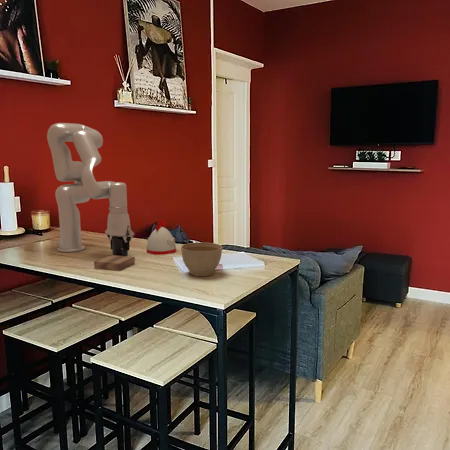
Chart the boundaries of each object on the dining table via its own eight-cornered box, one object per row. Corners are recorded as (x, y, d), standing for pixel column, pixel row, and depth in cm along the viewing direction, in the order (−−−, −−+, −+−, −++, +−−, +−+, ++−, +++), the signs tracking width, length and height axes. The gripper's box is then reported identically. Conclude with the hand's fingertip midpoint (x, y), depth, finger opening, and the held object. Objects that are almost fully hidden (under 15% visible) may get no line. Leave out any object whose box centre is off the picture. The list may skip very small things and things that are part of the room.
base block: (94, 268, 189) (94, 261, 189) (110, 261, 201) (109, 255, 200) (120, 270, 186) (120, 263, 185) (134, 263, 197) (134, 256, 197)
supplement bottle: (124, 259, 204) (123, 233, 202) (110, 259, 206) (108, 232, 204) (130, 256, 211) (129, 230, 209) (116, 255, 212) (115, 229, 210)
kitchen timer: (181, 250, 224) (181, 219, 221) (165, 256, 212) (164, 223, 209) (157, 247, 230) (157, 217, 228) (140, 252, 218) (139, 221, 215)
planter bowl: (189, 281, 172) (188, 252, 170) (176, 270, 186) (175, 244, 185) (228, 276, 178) (228, 248, 176) (213, 266, 193) (213, 241, 191)
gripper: (97, 210, 205) (99, 249, 208) (128, 212, 198) (130, 253, 201) (109, 208, 212) (110, 246, 215) (139, 210, 204) (140, 250, 207)
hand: (120, 249), depth 208 cm, fingers closed on supplement bottle, 6 cm apart
